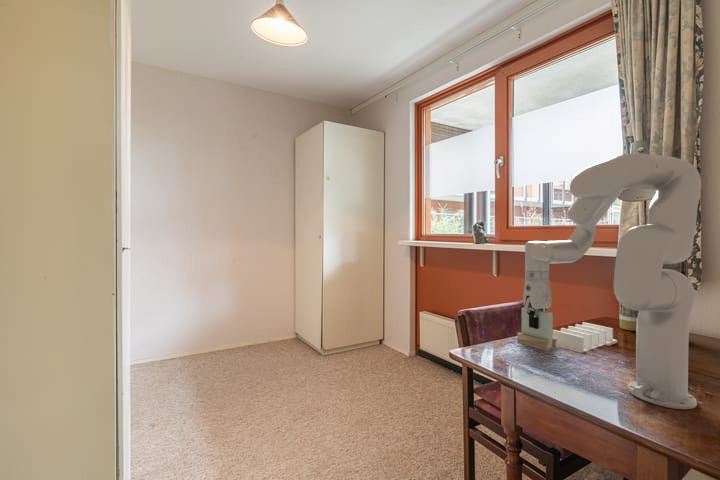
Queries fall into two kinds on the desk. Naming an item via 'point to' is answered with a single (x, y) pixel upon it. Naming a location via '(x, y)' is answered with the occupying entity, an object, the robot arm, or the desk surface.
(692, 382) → the desk surface
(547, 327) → the plate
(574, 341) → the dish rack
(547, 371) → the desk surface
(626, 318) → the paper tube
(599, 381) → the desk surface
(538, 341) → the plate stand
